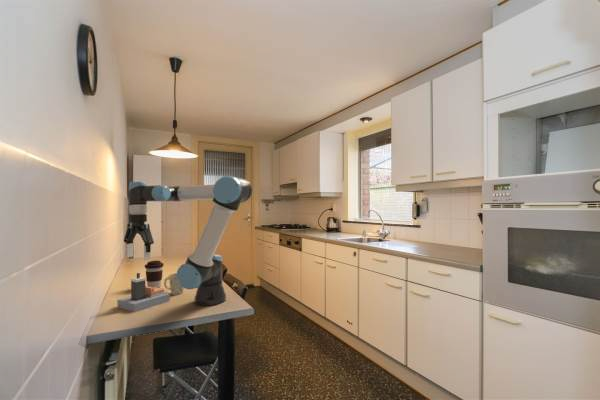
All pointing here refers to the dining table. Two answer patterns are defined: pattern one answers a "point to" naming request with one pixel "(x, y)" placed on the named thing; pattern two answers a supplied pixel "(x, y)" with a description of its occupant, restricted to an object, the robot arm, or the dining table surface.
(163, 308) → the dining table surface
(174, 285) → the mug
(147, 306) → the socket plate
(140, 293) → the plug
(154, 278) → the coffee cup
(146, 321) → the dining table surface
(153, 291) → the block
